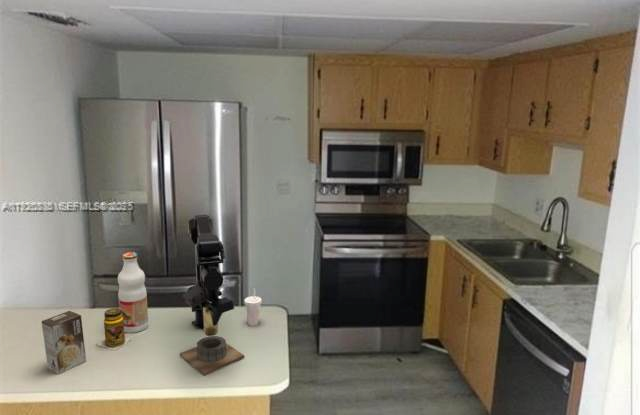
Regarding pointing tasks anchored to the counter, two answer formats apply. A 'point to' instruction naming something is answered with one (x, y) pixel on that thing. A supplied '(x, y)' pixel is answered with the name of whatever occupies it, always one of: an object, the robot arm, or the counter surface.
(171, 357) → the counter surface
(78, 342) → the coffee box
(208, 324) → the brass pin
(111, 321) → the condiment
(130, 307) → the fruit juice
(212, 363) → the ring socket
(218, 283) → the robot arm
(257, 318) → the smoothie
